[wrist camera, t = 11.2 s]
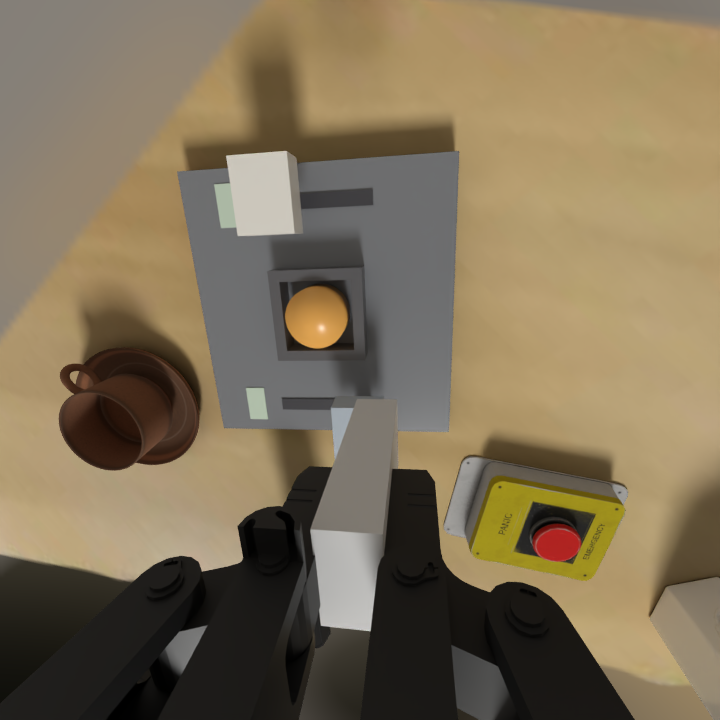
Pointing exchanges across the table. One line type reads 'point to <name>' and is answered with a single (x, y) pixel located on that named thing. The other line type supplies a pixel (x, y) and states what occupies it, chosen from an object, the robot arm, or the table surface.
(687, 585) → the jar
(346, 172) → the control panel
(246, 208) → the off-white rectangular box
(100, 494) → the table surface
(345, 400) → the slate lever
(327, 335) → the amber button
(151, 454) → the cup and saucer
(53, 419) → the table surface
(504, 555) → the emergency button
